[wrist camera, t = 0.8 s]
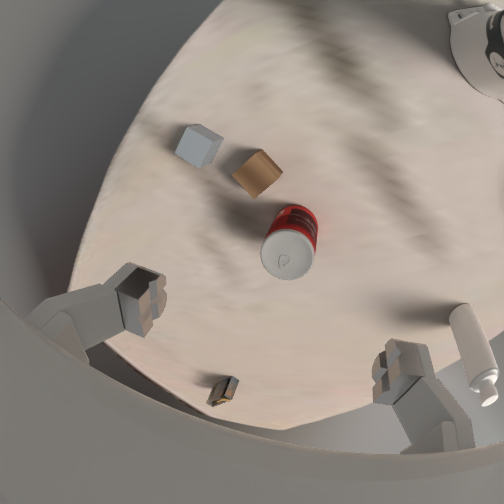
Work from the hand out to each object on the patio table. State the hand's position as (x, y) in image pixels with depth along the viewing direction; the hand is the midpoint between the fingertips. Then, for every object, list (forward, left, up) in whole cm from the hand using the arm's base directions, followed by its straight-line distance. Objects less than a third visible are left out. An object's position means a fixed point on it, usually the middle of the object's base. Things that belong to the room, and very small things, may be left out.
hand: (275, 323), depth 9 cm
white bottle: (-7, +46, -37) cm, 60 cm away
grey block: (+13, -14, -37) cm, 42 cm away
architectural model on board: (+61, +35, -38) cm, 80 cm away
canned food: (+11, +7, -37) cm, 39 cm away
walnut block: (+9, -4, -37) cm, 38 cm away
